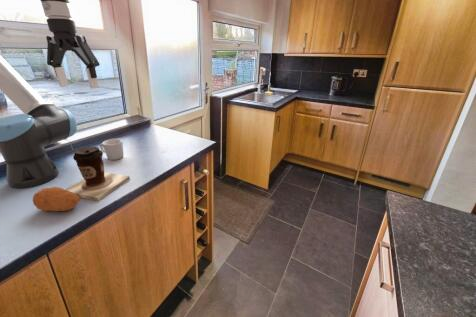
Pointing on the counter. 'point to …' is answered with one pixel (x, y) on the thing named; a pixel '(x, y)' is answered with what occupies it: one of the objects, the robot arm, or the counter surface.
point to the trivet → (98, 187)
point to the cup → (112, 148)
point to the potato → (55, 199)
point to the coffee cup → (90, 165)
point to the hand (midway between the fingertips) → (79, 87)
